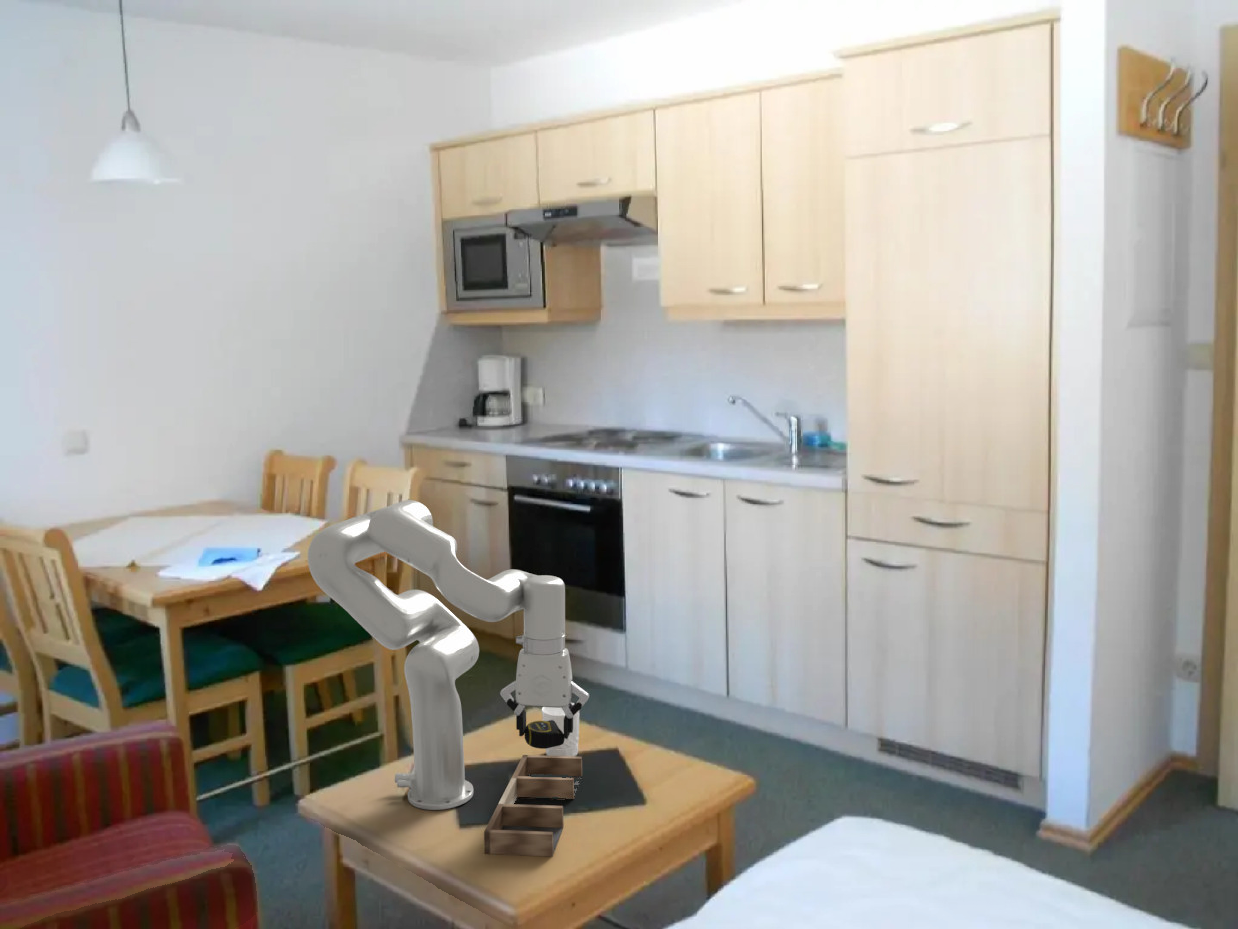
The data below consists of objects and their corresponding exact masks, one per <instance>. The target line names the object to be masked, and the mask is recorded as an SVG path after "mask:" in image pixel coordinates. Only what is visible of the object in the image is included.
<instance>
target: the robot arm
mask: <svg viewBox="0 0 1238 929" xmlns="http://www.w3.org/2000/svg"><path fill="white" fill-rule="evenodd" d="M433 519H434V518H433V515H432V512H430V509H429V508H427V506H426V505H424V504H423V503H421V502H419V501H417V500H412V499H407V500H403V501H402V500H401V501H399V502H397V503H396V502H395V503H394V504H391V505H388V506H385V507H383V508H379V509H377V510H374V511H369V512H365V513H363V514H360V515H356V516H354V517H351V518H349V519H346V520H343V521H340V522H336V523H335V524H331V525H329V526H327V527H325V528H323V529H322V530H320V531H319V532H317V534H316V535H314V537H313V538H312V539H311V541H310V544H309V546H308V550H307V564H308V569H309V572H310V574H311V576H312V579H313V580H314V582H315V584H316V585H317V586H318V587H319V588H320V589H321V591H323V592H324V593H325V594H326V595H327V596H328V597H330V598H331V599H332V600H333V601H335V603H337V604H338V605H339V606H340V607H341V608H342V609H344V610H345V611H346V612H347V613H348V614H349V615H350V616H351V617H352V618H353V619H354V621H356V622H357V623H358V624H359V625H360V626H361V627H362V628H363V629H364V630H365V631H366V632H367V633H368V634H369V635H370V636H371V637H373V639H375V640H376V641H377V643H379V644H380V645H381V646H383V647H384V648H386V649H388V650H393V651H394V650H395V651H396V650H401V649H403V648H405V647H407V646H410V645H411V644H412V643H415V641H419V642H418V643H417V644H416V645H414V646H413V648H412V649H411V650H410V651H409V653H408V655H407V656H406V658H405V660H404V661H405V662H404V667H403V668H404V671H403V672H404V677H405V681H406V686H407V689H408V693H409V694H408V695H409V702H410V711H411V714H410V715H411V723H412V742H413V743H412V744H413V745H412V746H413V758H414V759H413V763H414V766H413V767H414V771H412V772H411V773H405V772H396V773H395V775H394V782H395V783H394V784H396V787H397V788H408V789H409V790H408V792H407V800H408V802H409V804H411V805H412V806H414V807H415V808H418V809H421V810H426V811H427V810H428V811H438V810H439V811H440V810H441V811H442V810H448V809H452V808H456V807H459V806H461V805H463V804H465V803H467V802H469V801H470V800H471V799H472V798H473V796H474V786H473V784H472V783H471V782H469V781H468V780H466V779H465V778H466V776H465V773H466V772H465V755H464V754H465V752H464V735H463V734H464V732H463V730H464V729H463V728H464V727H463V713H462V704H461V699H460V695H459V693H458V690H457V688H456V679H458V678H460V676H462V675H463V674H465V673H466V672H467V671H469V670H470V669H471V668H472V667H473V666H475V664H476V662H477V661H478V659H479V655H480V654H479V653H480V646H479V642H478V639H477V638H476V636H475V634H474V633H473V632H472V631H471V629H469V627H468V626H467V625H466V624H465V623H463V622H462V620H460V619H459V618H458V617H457V616H456V615H455V614H454V613H453V612H452V611H450V610H449V608H448V607H447V606H445V605H444V604H443V603H442V602H441V601H440V600H439V599H438V598H436V597H435V596H434V595H432V594H431V593H429V592H427V591H425V590H421V589H410V590H405V591H404V592H401V593H399V594H396V593H395V592H393V591H392V590H391V589H389V588H388V587H387V586H386V585H384V583H383V582H382V581H381V580H380V579H379V578H377V577H376V576H375V575H373V574H371V573H369V572H367V571H366V570H363V569H361V568H359V567H358V566H356V563H359V562H361V561H364V560H366V559H368V558H371V557H373V556H376V555H379V554H381V553H387V554H389V555H391V556H392V557H394V558H396V559H398V560H399V561H402V562H403V563H405V564H406V565H408V566H410V567H411V568H413V569H415V570H417V571H420V572H421V573H423V574H425V575H426V576H428V577H430V579H431V580H432V582H433V583H434V586H435V587H436V589H437V590H438V591H439V592H440V593H441V596H443V597H444V599H446V601H448V602H449V603H450V604H451V605H453V606H454V607H456V608H458V609H459V610H461V611H463V612H465V613H466V614H468V615H470V616H472V617H474V618H476V619H478V620H480V621H484V622H488V623H495V622H499V621H502V620H504V619H505V618H507V617H509V616H510V615H511V614H513V613H516V612H518V611H520V610H523V634H522V635H517V636H516V638H515V643H516V644H519V645H521V646H522V648H521V649H520V651H519V653H518V657H517V658H518V659H517V666H516V674H515V675H516V677H515V680H514V681H512V682H511V683H509V684H507V685H506V686H505V687H504V688H502V689H501V690H500V692H499V695H500V696H501V697H502V698H503V701H504V702H505V704H506V705H507V706H508V707H509V708H510V710H512V711H513V714H514V715H515V716H516V718H515V719H516V722H515V727H516V731H517V730H518V732H519V734H518V736H519V737H523V736H525V728H526V726H527V711H526V709H525V707H537V708H539V707H541V708H543V707H556V708H562V710H563V711H564V713H565V717H564V738H565V739H568V737H569V734H570V733H572V732H573V716H574V715H575V714H576V713H577V712H578V711H579V712H580V710H581V709H582V707H583V706H585V704H586V703H587V701H588V700H589V699H590V693H588V692H587V691H586V690H585V689H583V688H582V687H580V686H579V685H578V684H576V683H575V682H574V681H573V672H572V670H573V669H572V662H571V658H570V652H569V649H568V648H566V584H565V582H564V581H563V579H562V578H560V577H557V576H554V575H547V574H545V575H543V574H542V575H539V574H538V575H537V574H533V573H529V572H527V571H523V570H521V569H513V568H512V569H507V570H506V569H505V570H503V571H502V572H501V571H500V572H499V573H498V574H496V575H494V576H492V577H490V578H487V579H485V578H484V577H482V576H480V575H478V574H476V573H475V572H473V571H471V570H469V569H468V568H467V567H466V566H464V565H463V564H462V563H461V562H460V561H459V559H458V558H457V555H456V554H457V549H458V544H457V543H458V542H457V540H456V539H455V538H454V537H453V536H451V535H450V534H448V533H446V532H445V531H443V530H440V529H438V528H437V527H435V526H434V525H433V524H434V521H433ZM514 691H515V697H513V696H512V694H511V693H514ZM573 694H574V695H575V696H577V697H578V698H579V699H578V700H577V701H575V702H574V705H572V703H573V702H572V701H571V699H572V697H573Z"/></svg>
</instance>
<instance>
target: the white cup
mask: <svg viewBox="0 0 1238 929" xmlns="http://www.w3.org/2000/svg"><path fill="white" fill-rule="evenodd" d="M571 703H572V705H574V704H575V702H571ZM541 715H542V721H549V720H553V721H555V723H556V724H557V726H558V727H559V729H560V730H561V731H562V732H563V734H564V717H565V713H564V711H563V710H562V708H556V707H541ZM579 734H580V710H579V711H578V712H577V713H576V714H575V715H574V716H573V732H572V733H570V734H569V737H568V739H565V738H564V743H563V744H562V745H560V746H555V747H551V748H547V749H545V756H578V753H579V739H580V735H579Z"/></svg>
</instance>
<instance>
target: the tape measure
mask: <svg viewBox="0 0 1238 929" xmlns="http://www.w3.org/2000/svg"><path fill="white" fill-rule="evenodd" d="M524 740H525V742H526V744H527V745H529V746H530V747H532V748H535V749H543V750H546V749H547V748H551V747H555V746H560V745H562V744H563V743H564V734H563V732H562V731H561V730H560V729H559V727H558V726H557V724H556V723H555V721H553V720H549V721H543V720H533V721H532V722H529V723H528V724H526V728H525V733H524Z"/></svg>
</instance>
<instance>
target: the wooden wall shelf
mask: <svg viewBox="0 0 1238 929" xmlns="http://www.w3.org/2000/svg"><path fill="white" fill-rule="evenodd" d="M528 774H530V776H529V775H528ZM532 774H537V775H538V774H544V775H546V774H552V775H568V776H572V777H571V778H570V777H566V778H562V777H531V775H532ZM577 776H578V777H577ZM580 776H582V777H583V757H582V756H578V755H576V756H547V755H541V754H540V755H539V754H538V755H537V754H535V755H533V754H532V755H531V754H523V755H522V757H521V759H520V761H519V762H518V764H517V766H516V768H515V770H514V772H513V774H512V776H511V778H510V780H509V782H508V784H507V785H506V788H505V790H504V792H503V794H502V796H501V798H500V800H499V802H498V804H497V805H496V808H495V809H494V811H493V814H492V816H491V818H490V820H489V822H488V823H487V826H486V827H485V829H484V832H483V840H484V841H483V842H484V843H483V844H484V854H487V855H506V856H507V855H509V856H510V855H511V856H530V857H531V856H536V857H554V854H555V851H556V849H557V845H558V843H559V841H560V838H561V835H562V832H563V829H564V824H565V822H564V806H563V805H549V804H548V805H546V804H542V805H540V804H514V803H516V802H515V801H517V799H518V798H517V797H550V798H552V797H558V798H566V799H574V800H575V797H576V794H577V792H578V789H577V788H576V789H574V785H580V783H578V782H579V781H576V782H575V783H574V779H579V778H580ZM580 779H581V780H582V778H580ZM574 791H575V793H576V794H575V793H574ZM576 791H577V792H576ZM574 796H575V797H574ZM516 798H517V799H516Z"/></svg>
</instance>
